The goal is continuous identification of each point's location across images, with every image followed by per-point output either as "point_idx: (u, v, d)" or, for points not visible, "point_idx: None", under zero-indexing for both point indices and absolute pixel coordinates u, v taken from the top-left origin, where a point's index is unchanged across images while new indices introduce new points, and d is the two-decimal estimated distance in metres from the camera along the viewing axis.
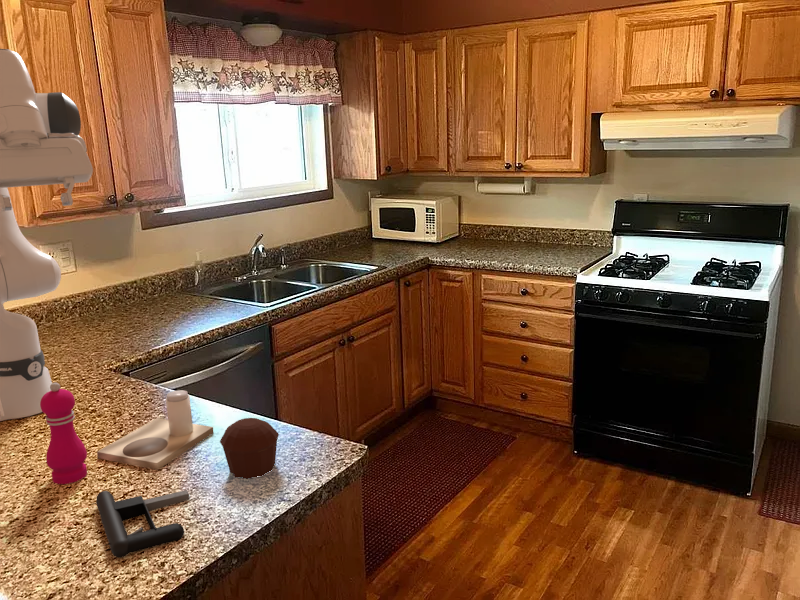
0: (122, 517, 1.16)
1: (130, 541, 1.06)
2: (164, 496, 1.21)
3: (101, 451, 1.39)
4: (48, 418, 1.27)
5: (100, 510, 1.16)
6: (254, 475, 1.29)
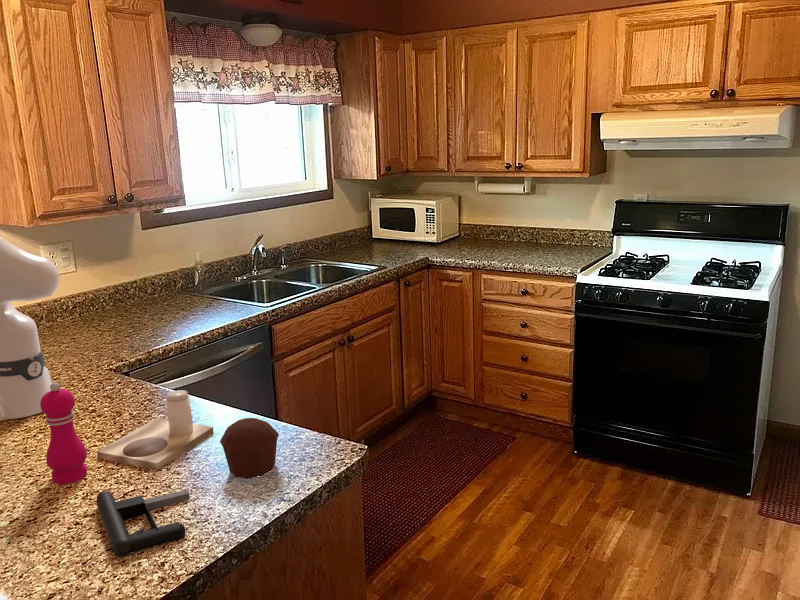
0: (123, 517, 1.16)
1: (132, 541, 1.06)
2: (164, 496, 1.21)
3: (101, 451, 1.39)
4: (48, 418, 1.27)
5: (101, 510, 1.16)
6: (254, 475, 1.29)
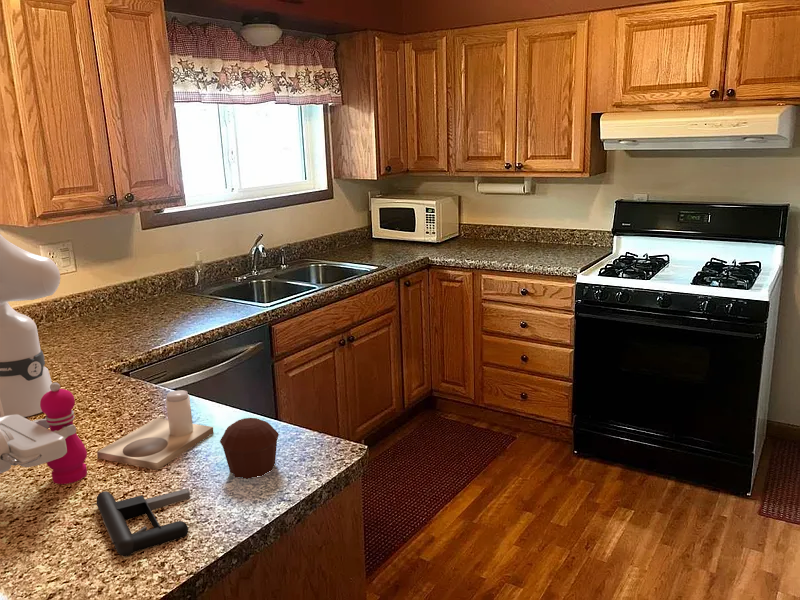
0: (124, 517, 1.16)
1: (135, 540, 1.06)
2: (165, 495, 1.21)
3: (101, 451, 1.39)
4: (48, 418, 1.27)
5: (102, 510, 1.15)
6: (254, 475, 1.29)
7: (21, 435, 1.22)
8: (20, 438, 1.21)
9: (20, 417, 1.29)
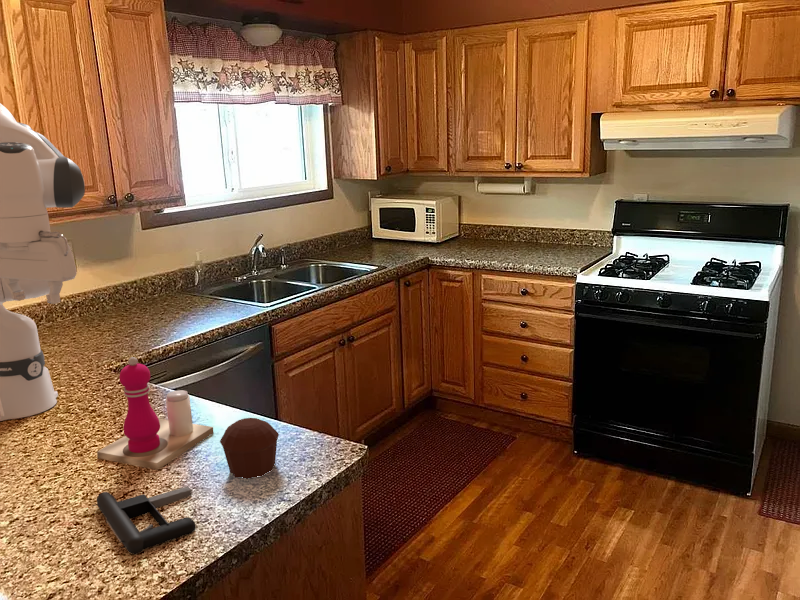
0: (128, 516, 1.16)
1: (145, 537, 1.07)
2: (167, 493, 1.22)
3: (101, 451, 1.39)
4: (127, 390, 1.35)
5: (104, 510, 1.15)
6: (254, 475, 1.29)
7: None
8: None
9: None
